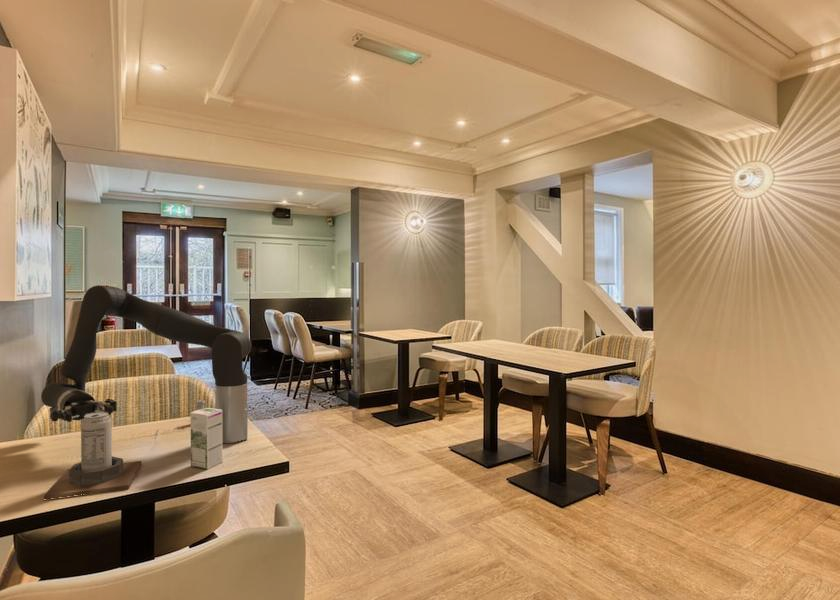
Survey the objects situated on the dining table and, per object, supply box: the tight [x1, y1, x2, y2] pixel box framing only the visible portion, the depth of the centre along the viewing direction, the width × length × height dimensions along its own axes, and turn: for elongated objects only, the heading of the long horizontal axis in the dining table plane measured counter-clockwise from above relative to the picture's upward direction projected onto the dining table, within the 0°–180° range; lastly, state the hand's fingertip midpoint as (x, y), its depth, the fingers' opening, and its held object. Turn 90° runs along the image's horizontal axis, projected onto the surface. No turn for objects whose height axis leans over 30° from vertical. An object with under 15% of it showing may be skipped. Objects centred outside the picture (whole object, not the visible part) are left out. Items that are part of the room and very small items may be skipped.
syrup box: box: [189, 407, 224, 470], centre depth 122 cm, size 6×6×14 cm
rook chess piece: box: [194, 398, 206, 411], centre depth 159 cm, size 4×4×8 cm
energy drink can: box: [80, 412, 113, 471], centre depth 111 cm, size 6×6×15 cm
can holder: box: [43, 455, 142, 500], centre depth 111 cm, size 16×16×4 cm
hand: (90, 414), depth 119 cm, fingers open, 8 cm apart
